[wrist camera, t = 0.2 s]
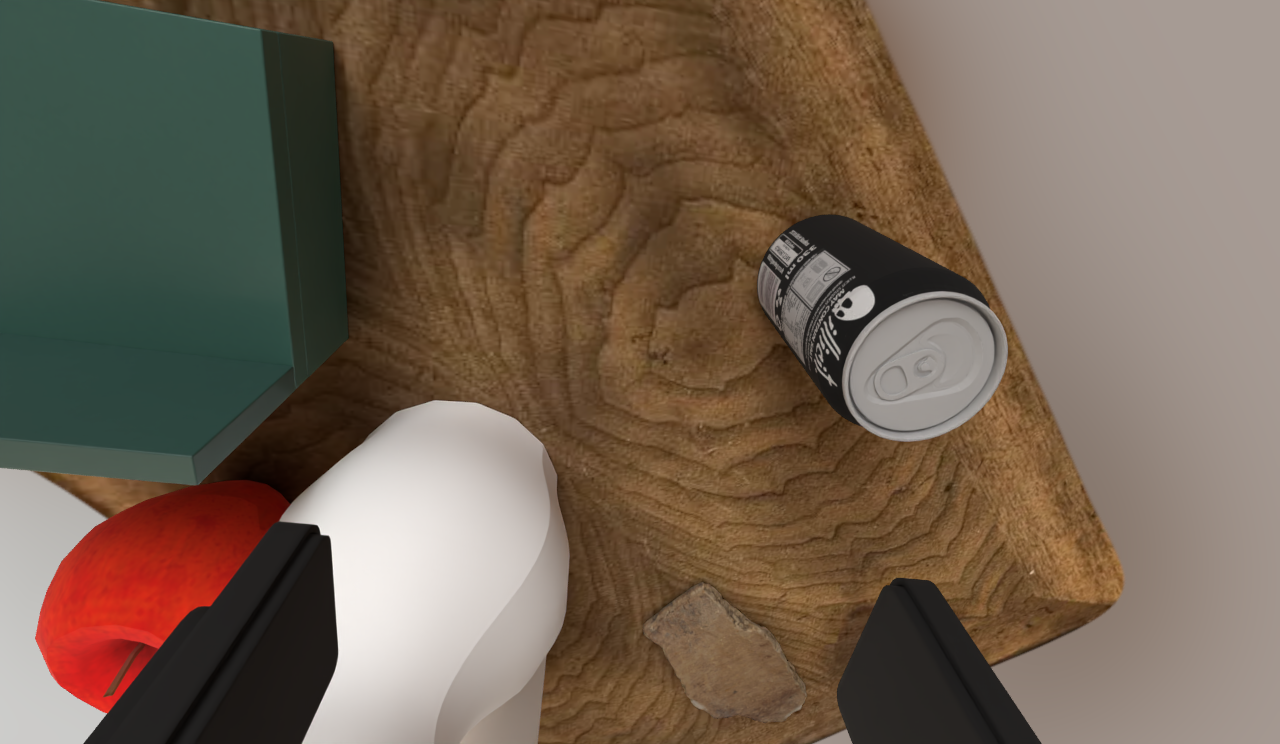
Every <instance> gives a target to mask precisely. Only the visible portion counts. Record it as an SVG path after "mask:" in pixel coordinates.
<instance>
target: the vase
mask: <svg viewBox="0 0 1280 744" xmlns="http://www.w3.org/2000/svg"><path fill="white" fill-rule="evenodd" d="M280 521H281V522H292V523H303V524H314V525H318V527H319V528H320V533H321V535H328V536H329V537H330V539H331V549H332V564H333V578H334V593H335V608H336V623H337V637H338V661H337V665H336V669H335V672H334V675H333V677H332V679H331V682H330V684H329V686H328V688H327V690H326V692H325V695H324V697H323V699H322V701H321V703H320V705H319V708H318V710H317V712H316V714H315V716H314V718H313V721H312V723H311V725H310V727H309V729H308V731H307V734H306V736H305V738H304V740H303V742H302V744H460V742H461V740H462V739H463V738H464V736H465V735H466V734H467V733H468V732H469V731H470V730H471V729H472V728H473V727H474V726H475V725H476V724H478V723H479V722H480V721H481V720H482V719H483V718H484V717H486V716H487V715H489V714H490V713H491V712H493V711H494V710H496V709H497V708H499V707H500V706H501V705H503V704H504V703H505V702H507V701H508V700H509V699H511V698H512V697H513V696H515V695H516V694H517V693H519V692H520V691H521V690H522V688H523V687H524V686H525V685H526V684H527V682H528V681H529V680H530V679H531V678H532V676H533V675H534V673H535V672H536V670H537V669H538V667H539V665H540V664H541V662H542V661H543V659H544V658H545V656H546V655H547V653H548V652H549V650H550V649H551V647H552V646H553V644H554V642H555V640H556V638H557V636H558V634H559V632H560V630H561V628H562V626H563V622H564V618H565V614H566V605H567V589H568V574H569V557H570V554H569V544H568V538H567V533H566V529H565V525H564V521H563V518H562V514H561V510H560V507H559V502H558V497H557V474H556V471H555V469H554V467H553V465H552V462H551V460H550V458H549V456H548V453H547V451H546V449H545V447H544V445H543V444H542V443H541V442H540V441H539V440H538V439H537V438H536V437H535V436H534V435H533V434H531V433H530V432H529V431H528V430H527V429H526V428H525V427H524V426H523V425H522V424H521V423H520V422H518V421H517V420H516V419H515V418H512V417H510V416H508V415H505V414H503V413H500V412H498V411H495V410H493V409H491V408H488V407H486V406H483V405H481V404H479V403H471V402H455V401H438V400H434V401H431V402H427V403H424V404H421V405H417V406H414V407H411V408H407V409H404V410H401V411H397V412H395V413H394V414H393V415H392V416H391V417H390V418H388V419H387V420H386V421H385V422H384V423H382V424H381V425H380V426H379V427H378V428H377V429H375V430H374V431H373V432H372V433H371V434H369V435H368V437H367V438H366V440H365V441H364V442H363V443H362V444H361V445H359V446H358V447H357V448H355V449H354V450H352V451H351V452H350V453H349V454H347V455H346V456H345V457H344V458H342V459H341V460H340V461H339V462H338V463H336V464H335V465H334V466H333V467H332V468H330V469H329V470H328V471H327V472H326V473H325V474H323V475H322V476H321V477H320V478H319V479H318V480H316V481H315V482H314V483H313V484H312V485H310V486H309V487H308V488H307V489H306V490H305V491H304V492H303V493H301V494H300V495H299V496H298V497H297V498H296V499H295V500H294V501H293V502H292V503H291V505H290V506H289V507H288V509H287V510H286V511H285V512H284V514H283V515H282V517H281V519H280Z"/></svg>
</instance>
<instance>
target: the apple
mask: <svg viewBox="0 0 1280 744" xmlns="http://www.w3.org/2000/svg"><path fill="white" fill-rule="evenodd" d="M290 505H291V504H290V503H289V502H288V501H287V500H286V499H285V498H284V496H283V495H282V494H281V493H280V492H278V491H276V490H275V489H273V488H272V487H270V486H269V485H267V484H264V483H259V482H255V481H250V480H229V481H222V482H215V483H209V484H203V485H196V486H190V487H187V488H184V489H181V490H177V491H174V492H171V493H168V494H164V495H161V496H158V497H155V498H151V499H148V500H145V501H143V502H141V503H139V504H137V505H135V506H133V507H130V508H128V509H126V510H124V511H122V512H120V513H118V514H117V515H115V516H113V517H111V518H109V519H108V520H106V521H104V522H102V523H101V524H99V525H97V526H95V527H94V528H93V529H92V530H91V531H90V532H89V533H88V534H87V535H86V536H85V537H84V538H83V539H82V540H81V541H80V542H79V543H78V544H77V545H76V546H75V547H74V549H72V551H71V552H70V553H69V554H68V555H67V556H66V557H65V558H64V559H63V560H62V562H61V564H60V565H59V568H58V570H57V572H56V574H55V576H54V578H53V580H52V582H51V584H50V586H49V588H48V590H47V592H46V595H45V599H44V602H43V605H42V608H41V611H40V616H39V621H38V627H37V632H36V637H35V639H36V642H37V644H38V646H39V648H40V651H41V653H42V655H43V657H44V660H45V662H46V664H47V666H48V669H49V671H50V673H51V675H52V676H53V677H54V679H55V680H56V681H57V683H58V684H59V685H60V686H61V687H63V688H64V689H66V690H67V691H68V692H70V693H71V694H73V695H74V696H75V697H77V698H79V699H80V700H82V701H84V702H86V703H88V704H89V705H91V706H93V707H95V708H97V709H99V710H100V711H102V712H105V713H108V712H109V711H110V710H111V708H112V707H113V706H114V705H115V703H116V702H117V701H118V700H119V698H120V697H121V696H122V695H123V693H124V692H125V691H126V689H127V688H128V687H129V686H130V684H131V683H132V682H133V681H134V679H135V678H136V677H137V676H138V674H139V673H140V672H141V671H142V669H143V668H144V667H145V666H146V664H147V663H148V662H149V661H150V659H151V658H152V657H153V655H154V654H155V653H156V652H157V650H158V649H159V648H160V647H161V645H162V644H163V643H164V642H165V640H166V639H167V638H168V637H169V635H170V634H171V633H172V632H173V630H174V629H175V628H176V627H177V625H178V624H179V623H180V622H181V620H182V619H183V618H184V617H185V616H186V615H187V614H188V613H189V612H190V611H192V610H194V609H195V608H197V607H200V606H211V605H212V604H213V602H214V601H215V600H216V598H217V597H218V596H219V594H220V593H221V592H222V590H223V589H224V588H225V586H226V585H227V584H228V582H229V581H230V580H231V579H232V577H233V576H234V575H235V573H236V572H237V571H238V569H239V568H240V567H241V565H242V564H243V563H244V561H245V560H246V559H247V557H248V556H249V555H250V553H251V552H252V551H253V550H254V548H255V547H256V546H257V544H258V543H259V542H260V540H261V539H262V538H263V536H264V535H265V534H266V532H267V531H268V530H269V528H270V527H271V526H272V525H273V524H274V523H276V522H278V521H280V519H281V517H282V515H283V514H284V512H285V511H286V510H287V509H288V507H289V506H290Z"/></svg>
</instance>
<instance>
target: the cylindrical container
mask: <svg viewBox="0 0 1280 744" xmlns="http://www.w3.org/2000/svg"><path fill="white" fill-rule="evenodd" d="M545 664H546V656H545V658H544V659H543V661H542V662H541V664H540V665H539V667H538V669H537V670H536V672H535V673H534V675H533V676H532V678H531V679H530V680H529V681H528V682H527V684H526V685H525V686H524V687H523V688H522V690H521V691H520V692H519V693H517V694H516V695H515V696H513V697H512V698H511V699H509V700H508V701H507V702H505V703H504V704H503V705H501V706H500V707H499V708H497V709H496V710H494V711H493V712H491V713H490V714H489V715H487V716H486V717H484V718H483V719H482V720H481V721H480V722H479V723H478V724H476V725H475V726H474V727H473V728H472V729H471V730H470V731H469V732H468V733H467V734H466V735H465V736H464V738H463V739H462V740H461V742H460V744H538V734H539V724H540V714H541V704H542V694H543V684H544V674H545Z"/></svg>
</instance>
